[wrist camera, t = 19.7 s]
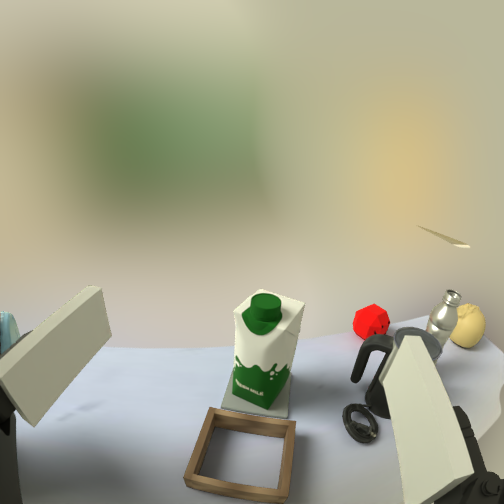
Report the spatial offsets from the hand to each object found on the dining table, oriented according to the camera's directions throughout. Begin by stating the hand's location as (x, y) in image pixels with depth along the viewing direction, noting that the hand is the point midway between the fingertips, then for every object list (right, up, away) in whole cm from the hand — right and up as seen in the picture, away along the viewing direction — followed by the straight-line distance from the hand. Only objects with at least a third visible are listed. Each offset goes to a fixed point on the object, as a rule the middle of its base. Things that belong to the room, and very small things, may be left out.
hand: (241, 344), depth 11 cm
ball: (+28, -17, +51) cm, 61 cm away
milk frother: (+22, -25, +29) cm, 45 cm away
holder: (-1, -26, +21) cm, 33 cm away
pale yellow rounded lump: (+58, -21, +47) cm, 78 cm away
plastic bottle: (+36, -23, +38) cm, 57 cm away
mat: (+2, -21, +34) cm, 40 cm away
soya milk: (+2, -21, +34) cm, 40 cm away
